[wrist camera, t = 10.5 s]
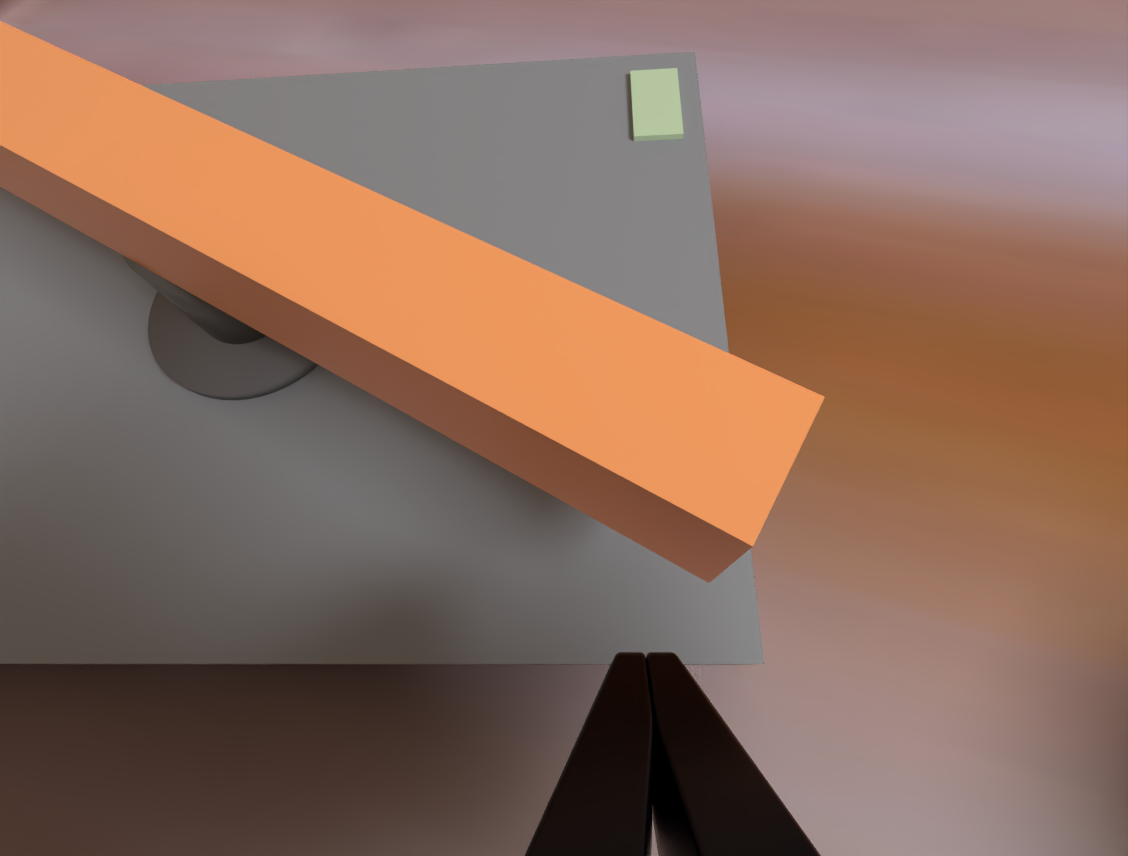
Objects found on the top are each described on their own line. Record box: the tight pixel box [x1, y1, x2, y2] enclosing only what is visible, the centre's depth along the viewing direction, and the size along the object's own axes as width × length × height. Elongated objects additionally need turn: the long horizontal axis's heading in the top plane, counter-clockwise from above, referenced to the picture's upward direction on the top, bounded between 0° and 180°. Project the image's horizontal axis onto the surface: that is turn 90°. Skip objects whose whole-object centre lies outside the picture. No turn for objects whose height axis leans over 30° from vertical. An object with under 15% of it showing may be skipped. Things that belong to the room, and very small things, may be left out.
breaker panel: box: [0, 52, 764, 665], centre depth 19 cm, size 20×28×3 cm
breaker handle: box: [0, 21, 824, 583], centre depth 15 cm, size 3×30×7 cm, turn 59°
